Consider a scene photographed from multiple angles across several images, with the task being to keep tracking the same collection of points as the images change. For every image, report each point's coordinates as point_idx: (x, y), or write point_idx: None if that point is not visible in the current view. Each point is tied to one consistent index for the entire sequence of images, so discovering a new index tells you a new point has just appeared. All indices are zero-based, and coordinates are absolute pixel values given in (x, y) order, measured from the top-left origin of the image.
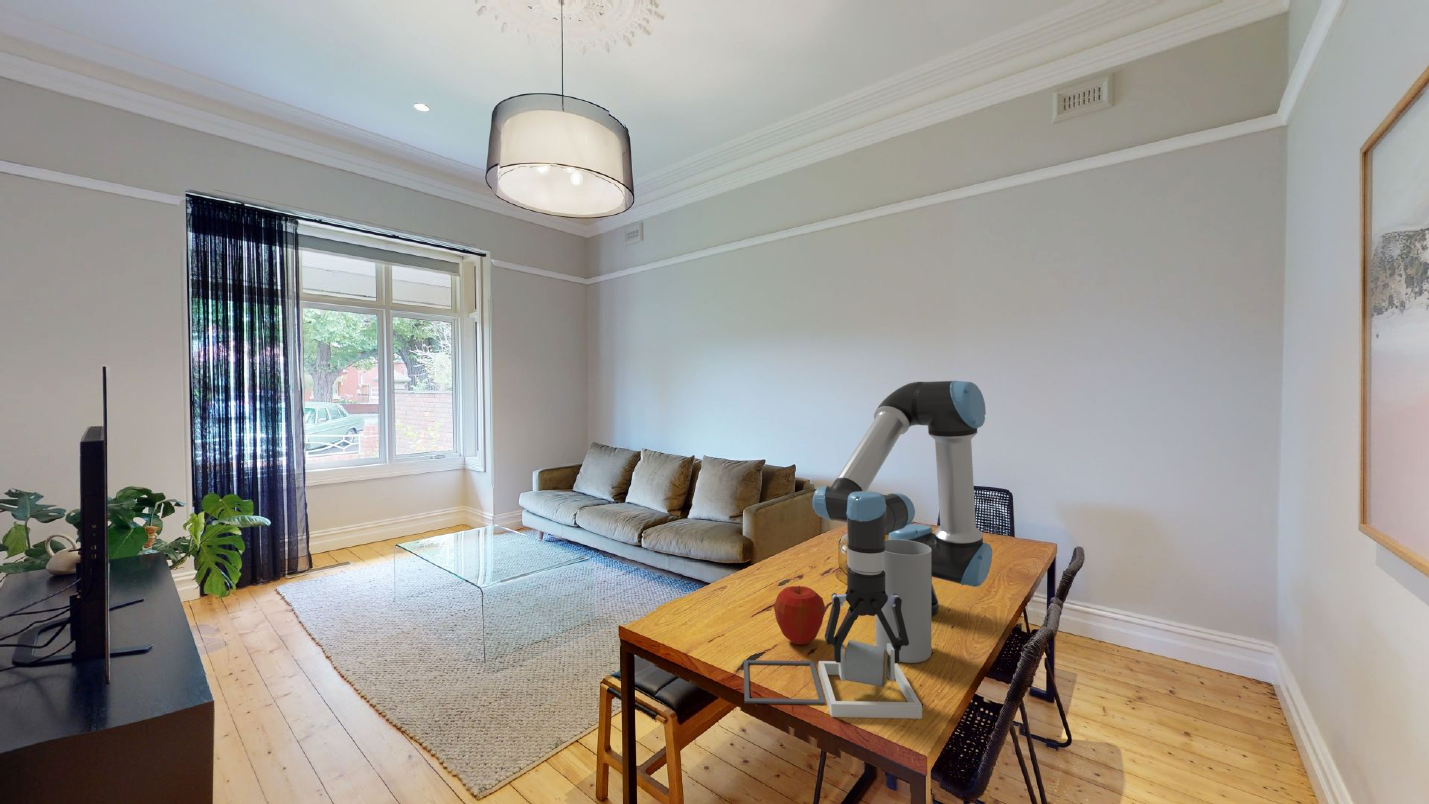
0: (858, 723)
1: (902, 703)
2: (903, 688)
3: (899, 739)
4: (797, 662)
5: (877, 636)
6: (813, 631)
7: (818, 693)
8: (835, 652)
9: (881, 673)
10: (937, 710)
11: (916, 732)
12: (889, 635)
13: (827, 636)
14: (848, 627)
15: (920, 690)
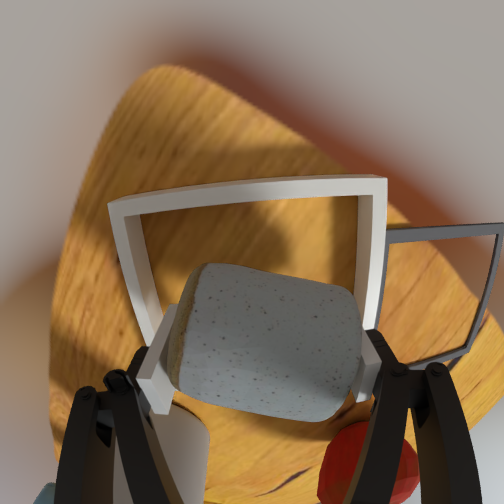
0: (302, 149)
1: (158, 203)
2: (153, 305)
3: (198, 93)
4: None
5: (204, 451)
6: (348, 446)
7: (385, 269)
8: (390, 352)
9: (208, 274)
10: (89, 239)
11: (147, 132)
12: (139, 433)
13: (452, 387)
14: (380, 456)
15: (121, 314)
